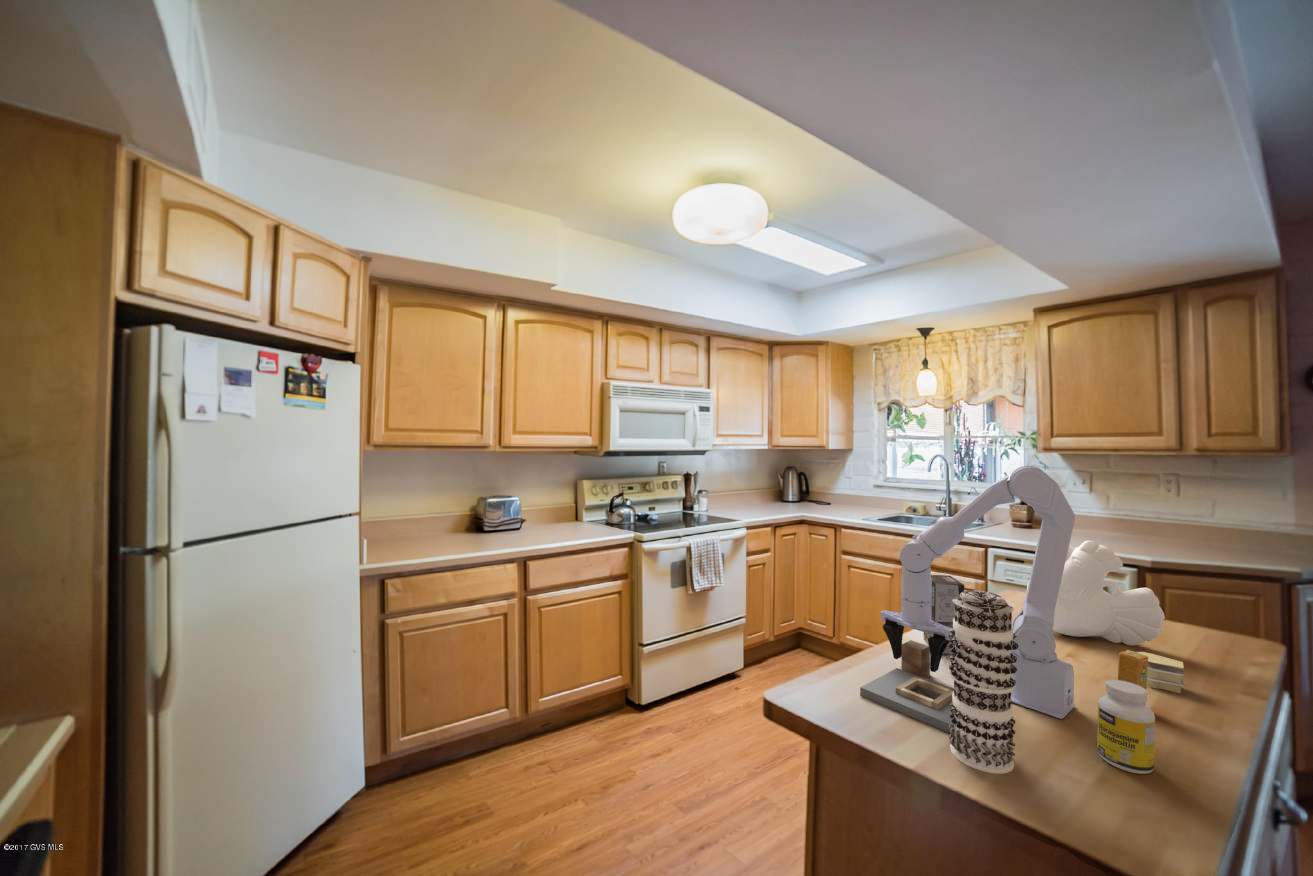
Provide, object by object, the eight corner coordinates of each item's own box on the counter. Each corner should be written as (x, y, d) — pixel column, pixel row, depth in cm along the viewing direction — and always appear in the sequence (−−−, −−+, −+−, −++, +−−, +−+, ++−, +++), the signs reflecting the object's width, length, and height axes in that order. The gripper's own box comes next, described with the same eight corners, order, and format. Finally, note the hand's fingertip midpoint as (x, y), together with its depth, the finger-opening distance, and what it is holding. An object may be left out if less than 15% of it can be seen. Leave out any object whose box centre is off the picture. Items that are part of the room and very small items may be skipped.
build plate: (994, 711, 94) (994, 697, 94) (961, 738, 85) (961, 722, 85) (896, 675, 108) (896, 663, 108) (860, 695, 100) (860, 682, 100)
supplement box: (1139, 714, 94) (1140, 658, 94) (1116, 705, 97) (1116, 651, 97) (1148, 710, 95) (1148, 655, 95) (1124, 701, 98) (1124, 648, 98)
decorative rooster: (1004, 599, 139) (1065, 538, 125) (1032, 581, 147) (1093, 521, 132) (1100, 683, 124) (1183, 624, 109) (1126, 657, 132) (1207, 599, 117)
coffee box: (965, 655, 119) (965, 584, 119) (934, 653, 120) (935, 583, 120) (950, 640, 128) (951, 574, 128) (922, 638, 129) (923, 573, 129)
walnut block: (929, 674, 109) (930, 646, 109) (920, 680, 106) (921, 650, 106) (910, 668, 112) (910, 640, 112) (901, 673, 109) (901, 644, 109)
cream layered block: (1192, 687, 105) (1192, 660, 105) (1195, 703, 99) (1195, 674, 99) (1126, 671, 112) (1126, 646, 112) (1124, 685, 105) (1124, 658, 105)
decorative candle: (1028, 762, 79) (1030, 597, 79) (999, 783, 74) (1000, 607, 74) (966, 733, 87) (967, 583, 87) (935, 751, 82) (937, 591, 82)
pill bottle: (1086, 750, 82) (1086, 677, 82) (1123, 749, 83) (1124, 676, 83) (1126, 777, 76) (1127, 697, 76) (1167, 775, 76) (1167, 696, 76)
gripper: (873, 594, 112) (872, 657, 112) (944, 612, 101) (943, 682, 101) (890, 588, 117) (889, 649, 117) (959, 605, 105) (958, 672, 105)
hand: (915, 663), depth 109 cm, fingers open, 7 cm apart
